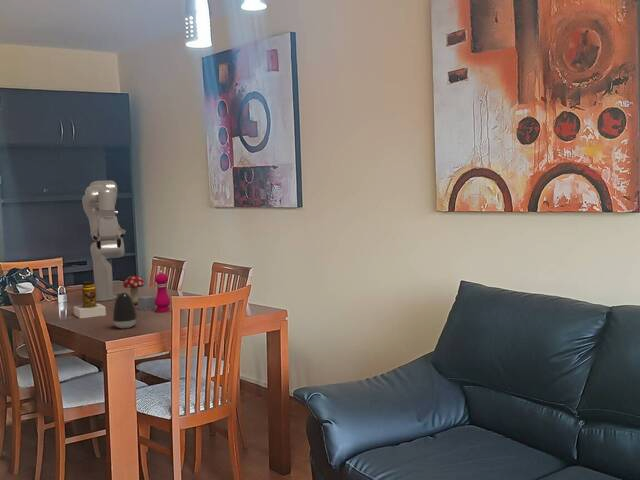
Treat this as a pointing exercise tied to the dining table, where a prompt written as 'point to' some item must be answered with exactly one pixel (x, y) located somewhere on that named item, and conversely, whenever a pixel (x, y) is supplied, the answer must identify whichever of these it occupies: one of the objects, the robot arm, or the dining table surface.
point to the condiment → (89, 295)
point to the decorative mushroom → (134, 286)
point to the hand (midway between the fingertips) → (109, 248)
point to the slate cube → (146, 303)
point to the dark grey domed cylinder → (124, 311)
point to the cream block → (90, 311)
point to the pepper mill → (162, 293)
